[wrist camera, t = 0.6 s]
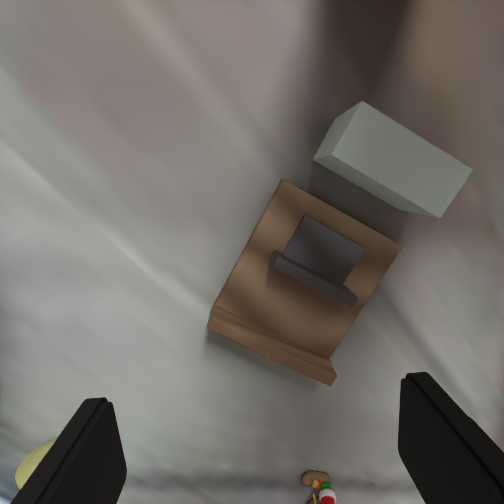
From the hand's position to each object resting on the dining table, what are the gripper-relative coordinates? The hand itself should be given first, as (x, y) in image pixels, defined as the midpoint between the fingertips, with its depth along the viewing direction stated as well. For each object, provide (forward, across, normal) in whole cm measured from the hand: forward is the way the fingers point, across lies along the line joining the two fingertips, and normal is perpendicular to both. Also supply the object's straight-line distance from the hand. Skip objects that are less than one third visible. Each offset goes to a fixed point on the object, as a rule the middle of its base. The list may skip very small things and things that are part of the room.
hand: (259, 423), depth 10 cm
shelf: (+28, -6, +5) cm, 29 cm away
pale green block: (+28, -14, -8) cm, 32 cm away
